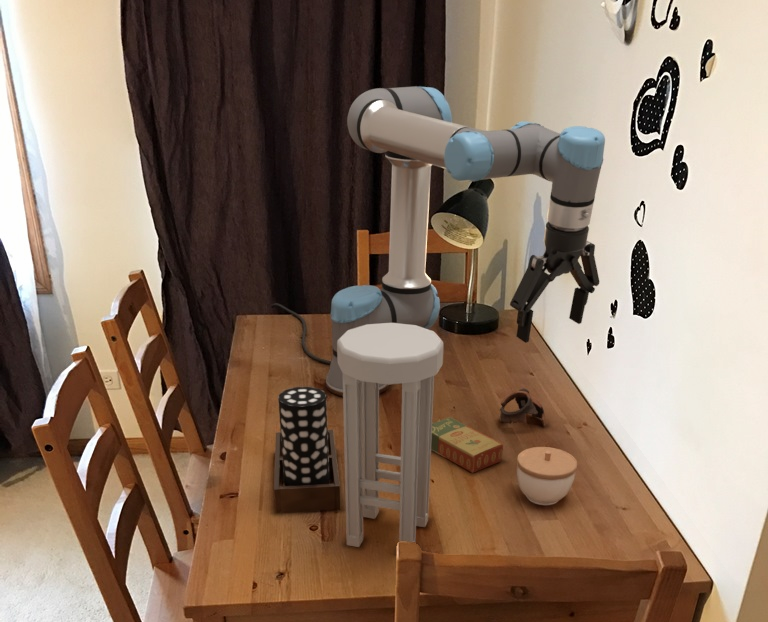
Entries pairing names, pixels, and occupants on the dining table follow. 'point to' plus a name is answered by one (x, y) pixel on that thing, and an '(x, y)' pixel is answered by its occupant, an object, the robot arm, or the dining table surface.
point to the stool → (360, 404)
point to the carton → (464, 445)
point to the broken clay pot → (522, 407)
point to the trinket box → (545, 474)
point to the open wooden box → (307, 494)
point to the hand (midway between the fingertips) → (549, 329)
